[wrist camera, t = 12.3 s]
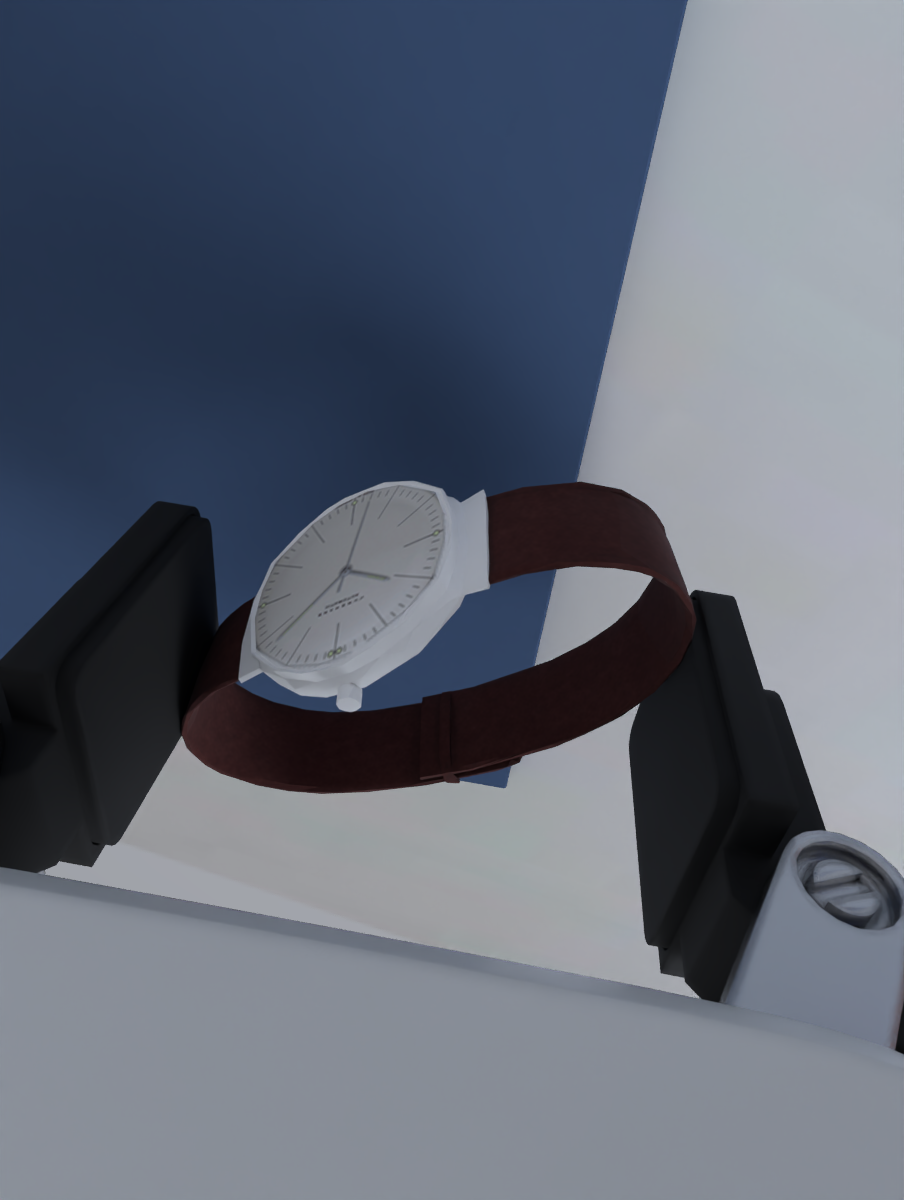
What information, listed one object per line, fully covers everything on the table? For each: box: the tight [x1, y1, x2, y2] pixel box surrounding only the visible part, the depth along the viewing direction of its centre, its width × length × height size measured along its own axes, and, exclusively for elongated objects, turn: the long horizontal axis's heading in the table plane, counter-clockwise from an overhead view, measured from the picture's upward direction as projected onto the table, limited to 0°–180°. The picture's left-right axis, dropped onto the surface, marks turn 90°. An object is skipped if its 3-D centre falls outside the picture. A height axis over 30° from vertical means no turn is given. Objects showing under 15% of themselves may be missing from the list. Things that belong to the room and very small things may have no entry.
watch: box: [181, 481, 696, 794], centre depth 11 cm, size 8×5×4 cm, turn 119°
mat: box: [0, 0, 688, 788], centre depth 12 cm, size 18×14×1 cm
